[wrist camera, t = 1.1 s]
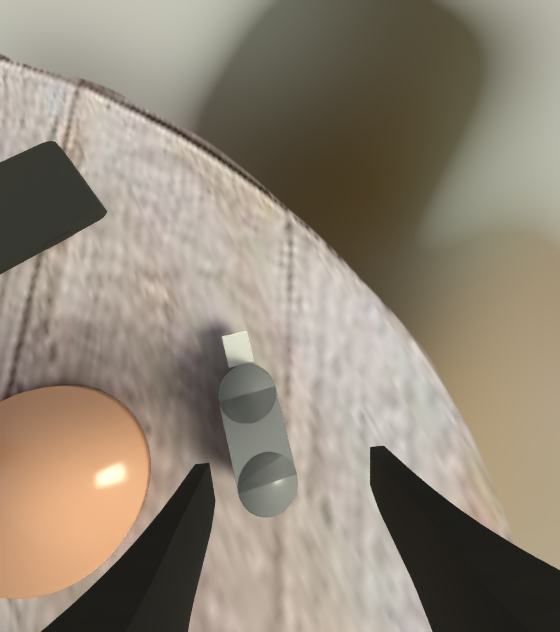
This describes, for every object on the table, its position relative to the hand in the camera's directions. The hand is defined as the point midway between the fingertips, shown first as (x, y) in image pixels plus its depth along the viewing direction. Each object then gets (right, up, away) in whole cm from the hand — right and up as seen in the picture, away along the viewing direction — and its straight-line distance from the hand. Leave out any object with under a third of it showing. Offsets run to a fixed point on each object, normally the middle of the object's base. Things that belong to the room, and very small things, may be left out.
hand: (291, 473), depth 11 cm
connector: (-3, -1, +11) cm, 12 cm away
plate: (-18, -6, +9) cm, 21 cm away
